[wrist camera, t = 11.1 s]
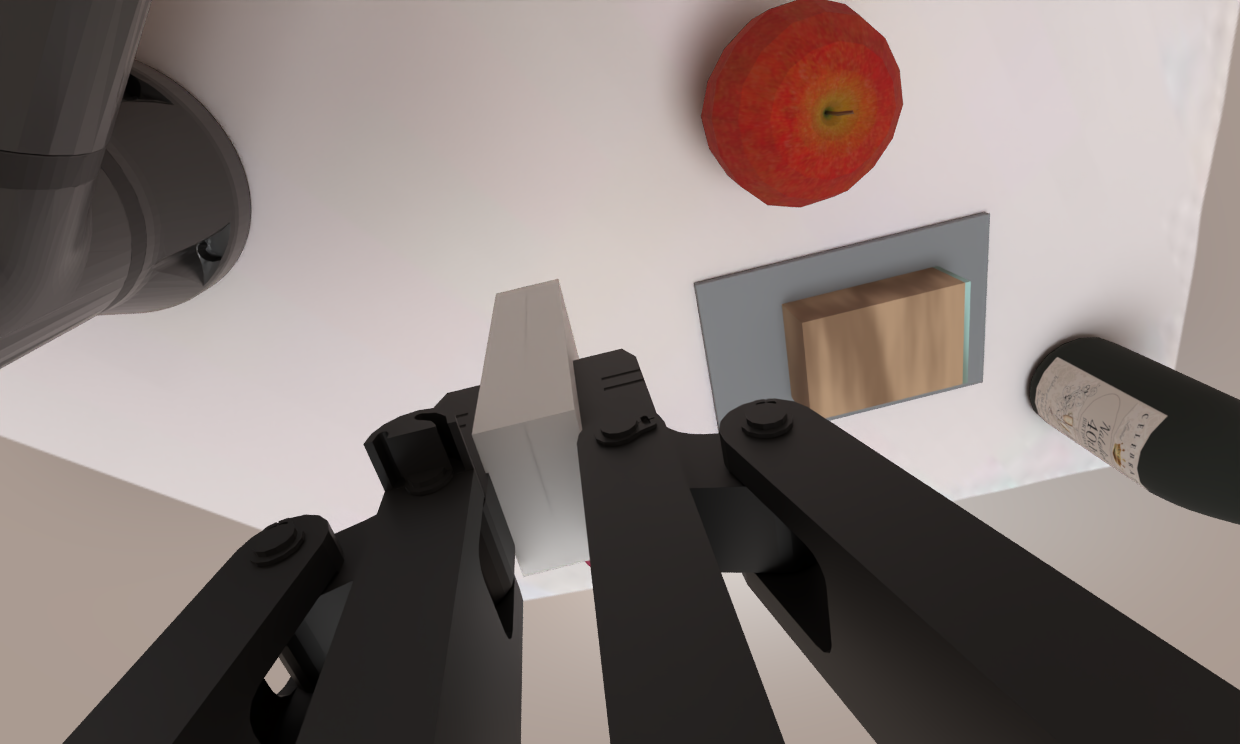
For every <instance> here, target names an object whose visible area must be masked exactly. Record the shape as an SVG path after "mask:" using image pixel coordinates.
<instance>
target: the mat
mask: <svg viewBox="0 0 1240 744" xmlns="http://www.w3.org/2000/svg"><path fill="white" fill-rule="evenodd" d="M989 224H990V214H989V213H986V212H984V213H979V214H975V215H971V216H967V217H963V218H959V219H955V220H951V221H947V222H943V223H939V224H934V225H930V226H926V227H922V228H918V229H914V230H910V231H906V232H902V233H898V234H894V235H889V236H885V237H881V238H877V239H873V240H869V241H865V242H861V243H857V244H853V245H848V246H844V247H840V248H836V249H832V250H828V251H824V252H820V253H816V254H812V255H808V256H803V257H799V258H795V259H791V260H787V261H783V262H779V263H775V264H771V265H767V266H763V267H758V268H754V269H750V270H746V271H742V272H738V273H734V274H730V275H726V276H722V277H718V278H713V279H709V280H705V281H701V282H697V283H694V287H695V293H696V299H697V305H698V311H699V317H700V323H701V329H702V335H703V341H704V347H705V353H706V358H707V364H708V370H709V376H710V382H711V388H712V394H713V400H714V406H715V412H716V418H717V424H718V430H719V427H720V421H721V420H722V419H723V418H724V417H725V415H726V414H727V413H728V412H729V411H731V410H733V409H735V408H737V407H738V406H740V405H742V404H746V403H750V402H753V401H755V400H760V399H765V400H766V399H774V398H776V399H782V400H789V401H794V400H793V398H792V396H791V387H790V378H789V368H788V359H787V349H786V340H785V331H784V321H783V312H782V304H785V303H789V302H793V301H797V300H801V299H805V298H809V297H813V296H817V295H821V294H825V293H829V292H834V291H838V290H842V289H846V288H850V287H854V286H858V285H862V284H866V283H870V282H874V281H878V280H882V279H886V278H891V277H895V276H899V275H903V274H907V273H911V272H915V271H919V270H923V269H927V268H931V267H935V266H939V267H941V268H943V269H945V270H947V271H950V272H952V273H954V274H956V275H958V276H960V277H962V278H965V279H967V280H969V281H971V290H970V322H969V355H968V383H965V384H961V385H957V386H953V387H949V388H945V389H941V390H937V391H933V392H929V393H925V394H921V395H917V396H913V397H909V398H905V399H901V400H897V401H893V402H889V403H885V404H881V405H877V406H873V407H869V408H865V409H861V410H857V411H853V412H849V413H845V414H841V415H837V416H833V417H829V418H825V419H827V420H829V421H830V420H834V419H838V418H842V417H846V416H850V415H854V414H858V413H862V412H866V411H870V410H874V409H878V408H882V407H886V406H890V405H894V404H898V403H902V402H906V401H910V400H914V399H918V398H922V397H926V396H930V395H934V394H938V393H942V392H946V391H950V390H954V389H958V388H962V387H966V386H970V385H974V384H978V383H982V382H983V365H984V341H985V318H986V294H987V271H988V248H989Z"/></svg>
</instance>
